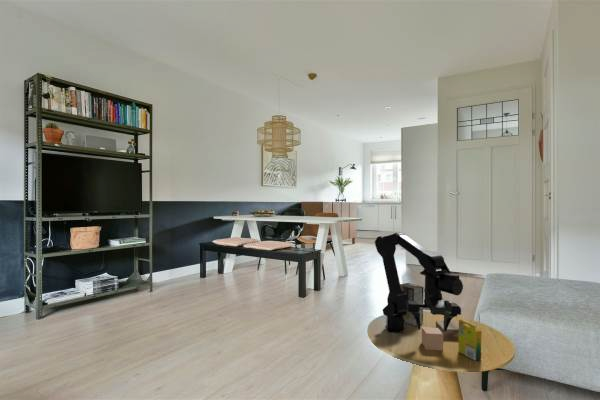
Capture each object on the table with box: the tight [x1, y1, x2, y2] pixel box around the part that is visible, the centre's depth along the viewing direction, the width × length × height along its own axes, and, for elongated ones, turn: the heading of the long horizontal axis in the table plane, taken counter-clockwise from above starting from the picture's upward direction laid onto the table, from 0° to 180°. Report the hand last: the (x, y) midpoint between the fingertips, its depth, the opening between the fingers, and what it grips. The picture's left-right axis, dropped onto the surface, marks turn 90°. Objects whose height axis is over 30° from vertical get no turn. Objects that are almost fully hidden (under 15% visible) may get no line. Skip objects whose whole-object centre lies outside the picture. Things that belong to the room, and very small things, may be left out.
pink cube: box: [421, 326, 444, 351], centre depth 126 cm, size 6×6×6 cm
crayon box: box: [458, 319, 482, 361], centre depth 119 cm, size 7×3×12 cm, turn 21°
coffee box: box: [400, 282, 425, 326], centre depth 152 cm, size 9×6×16 cm
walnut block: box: [435, 320, 459, 340], centre depth 138 cm, size 9×9×4 cm
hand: (432, 330), depth 126 cm, fingers open, 9 cm apart
